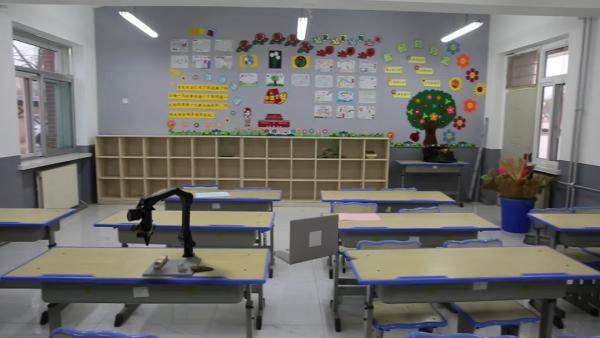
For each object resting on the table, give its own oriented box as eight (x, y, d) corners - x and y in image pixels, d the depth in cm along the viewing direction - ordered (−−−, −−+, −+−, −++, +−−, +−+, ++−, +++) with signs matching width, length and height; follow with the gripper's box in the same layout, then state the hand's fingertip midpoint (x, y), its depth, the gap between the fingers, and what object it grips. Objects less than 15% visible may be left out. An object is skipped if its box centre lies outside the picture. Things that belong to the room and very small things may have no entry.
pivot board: (156, 260, 247) (156, 258, 247) (200, 260, 248) (200, 259, 248) (142, 275, 222) (142, 274, 222) (191, 276, 223) (191, 274, 223)
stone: (189, 271, 228) (189, 267, 228) (189, 268, 233) (189, 264, 232) (213, 271, 231) (213, 268, 231) (213, 268, 236) (213, 264, 235)
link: (159, 269, 229) (159, 263, 229) (152, 269, 229) (152, 263, 229) (168, 258, 247) (168, 253, 247) (161, 258, 247) (161, 253, 247)
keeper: (180, 267, 233) (180, 261, 233) (185, 267, 233) (185, 261, 233) (177, 271, 227) (177, 265, 227) (183, 271, 227) (183, 265, 227)
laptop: (314, 246, 283) (315, 207, 280) (337, 257, 261) (339, 214, 258) (268, 254, 264) (269, 212, 261) (290, 266, 242) (290, 220, 239)
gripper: (137, 215, 243) (138, 241, 245) (126, 222, 224) (126, 250, 226) (157, 215, 243) (157, 241, 245) (147, 222, 225) (147, 250, 227)
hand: (147, 245), depth 236 cm, fingers closed
